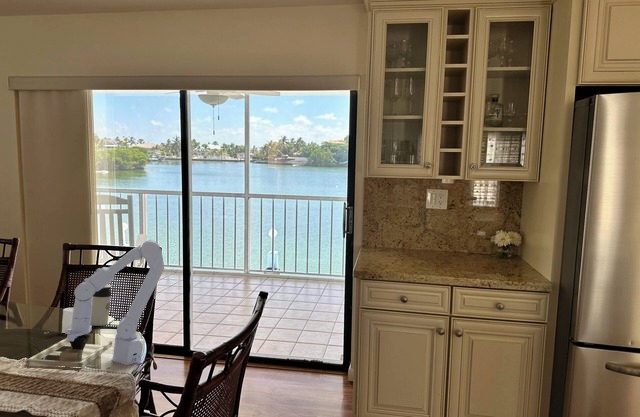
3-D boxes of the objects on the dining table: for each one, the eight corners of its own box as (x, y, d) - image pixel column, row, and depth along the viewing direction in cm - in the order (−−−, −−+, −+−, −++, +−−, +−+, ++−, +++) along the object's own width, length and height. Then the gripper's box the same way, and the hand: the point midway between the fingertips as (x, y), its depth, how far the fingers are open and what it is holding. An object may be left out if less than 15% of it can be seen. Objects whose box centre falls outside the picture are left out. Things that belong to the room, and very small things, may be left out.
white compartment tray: (65, 345, 166) (66, 338, 166) (111, 348, 168) (112, 341, 168) (25, 368, 139) (26, 359, 139) (80, 371, 141) (81, 363, 141)
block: (66, 360, 147) (67, 348, 147) (81, 361, 147) (82, 349, 148) (58, 365, 142) (60, 353, 142) (74, 366, 143) (76, 354, 143)
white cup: (72, 336, 178) (75, 312, 178) (55, 333, 180) (58, 309, 180) (85, 332, 186) (88, 309, 186) (70, 329, 187) (73, 306, 188)
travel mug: (84, 324, 198) (89, 285, 199) (97, 321, 206) (101, 283, 206) (99, 327, 196) (103, 287, 197) (111, 323, 204) (115, 285, 205)
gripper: (79, 312, 156) (74, 349, 156) (59, 321, 142) (54, 362, 141) (99, 313, 157) (94, 351, 156) (81, 322, 143) (76, 364, 142)
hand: (76, 356), depth 149 cm, fingers closed
